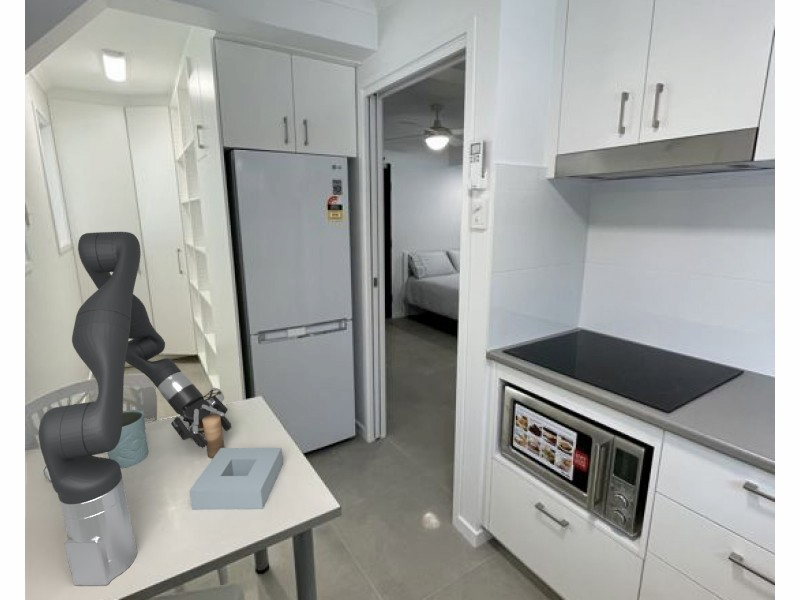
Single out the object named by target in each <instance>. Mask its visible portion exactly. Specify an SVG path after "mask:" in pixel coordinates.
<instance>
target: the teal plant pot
mask: <svg viewBox="0 0 800 600" xmlns="http://www.w3.org/2000/svg"><path fill="white" fill-rule="evenodd" d="M145 421H146V420H145V414H144V412H143V411H142V410H139V409H130V410H129V409H127V410H123V422H122V432H121V437H120V440H119V443H118V445H117V446H116V448H115V449H113V450H112V451H109V452H107V458H109V459H113V460H115V461H116V462H118V464H119V465H120V468H121V469H124V468H129V467H132V466H134V465H137V464H139V463H142V462H143V461H144V460H145V459H147V457H148V455H149V447H148V446H149V445H148V442H147V441H148V440H147V433H146V424H145V423H146V422H145Z"/></svg>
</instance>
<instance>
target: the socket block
mask: <svg viewBox="0 0 800 600" xmlns="http://www.w3.org/2000/svg"><path fill="white" fill-rule="evenodd" d="M283 461H284V460H283V449H282V447H224V448H220V450H219V451H218V452H217V454H216V455H215V456H214V458H211V461H210V462H209V463H208V465H206V467H205V469H204V470H203V471H202V473H201V474H200V475H199V477H198V478H197V479H196V481H195V482H194V484H193V485H192V486H191V488H190V489H189V490H188V491H189V497H190V502H191V503H190V504H191V510H263V509H264V507H265V506H266V505H265V504H266V502H267V500H268V498H269V496H270V494H271V492H272V491H273V487H274V485H275V483H276V480H277V478H278V477H279V475H280V472H281V469H282V467H283V465H284V462H283Z"/></svg>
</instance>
